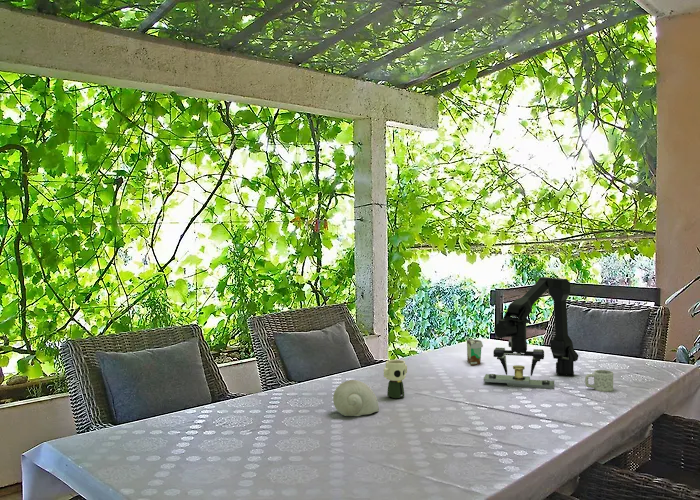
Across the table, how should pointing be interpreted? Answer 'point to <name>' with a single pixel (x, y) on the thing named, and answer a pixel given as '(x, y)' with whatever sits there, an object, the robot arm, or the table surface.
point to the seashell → (355, 399)
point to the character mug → (395, 377)
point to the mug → (601, 380)
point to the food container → (474, 352)
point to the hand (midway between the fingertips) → (518, 375)
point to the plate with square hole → (519, 381)
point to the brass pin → (519, 372)
